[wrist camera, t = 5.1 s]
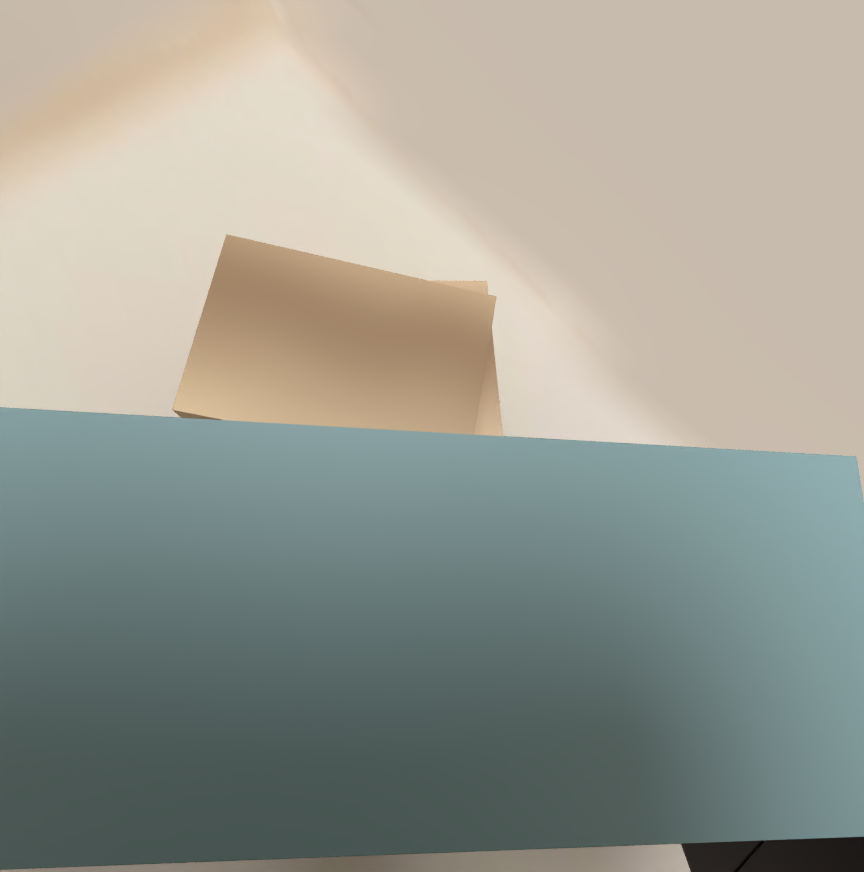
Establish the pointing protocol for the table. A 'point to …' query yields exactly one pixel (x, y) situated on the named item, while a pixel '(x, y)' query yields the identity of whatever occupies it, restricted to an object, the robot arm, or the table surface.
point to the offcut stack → (340, 346)
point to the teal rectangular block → (417, 642)
